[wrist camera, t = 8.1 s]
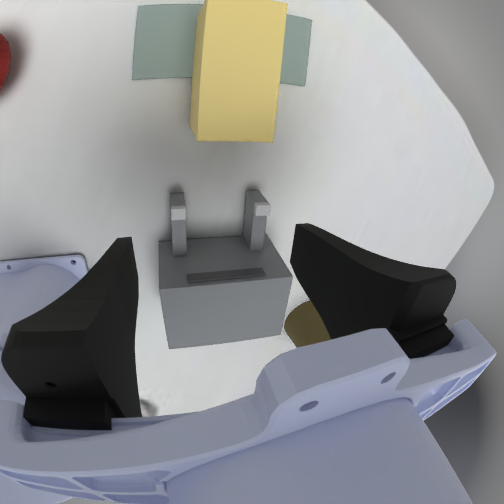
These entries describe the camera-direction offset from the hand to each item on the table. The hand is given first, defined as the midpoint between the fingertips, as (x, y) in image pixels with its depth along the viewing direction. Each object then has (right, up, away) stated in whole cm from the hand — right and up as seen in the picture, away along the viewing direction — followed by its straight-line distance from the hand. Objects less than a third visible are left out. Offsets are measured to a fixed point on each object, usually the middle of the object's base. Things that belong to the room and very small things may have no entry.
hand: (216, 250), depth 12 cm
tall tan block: (0, +12, +4) cm, 13 cm away
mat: (0, +14, +3) cm, 14 cm away
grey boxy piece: (-2, 0, +12) cm, 12 cm away
